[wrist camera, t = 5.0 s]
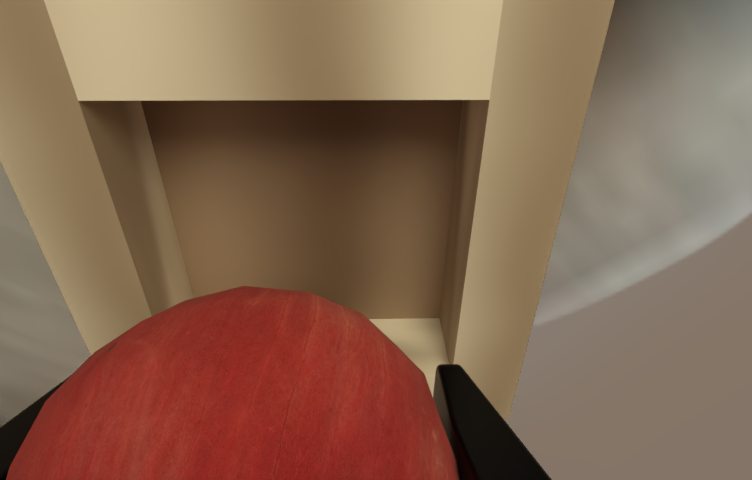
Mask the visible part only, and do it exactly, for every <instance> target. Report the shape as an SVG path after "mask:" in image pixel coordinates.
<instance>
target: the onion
mask: <svg viewBox="0 0 752 480" xmlns="http://www.w3.org/2000/svg"><path fill="white" fill-rule="evenodd" d="M6 480H459V473H458V466H457V460H456V458H455V455H454V453H453V450H452V448H451V445H450V443H449V440H448V437H447V435H446V432H445V430H444V427H443V425H442V422H441V419H440V416H439V414H438V411H437V408H436V405H435V402H434V399H433V397H432V394H431V391H430V388H429V385H428V383H427V380H426V377H425V374H424V373H423V372H422V371H421V370H420V369H419V368H418V367H417V366H416V365H415V364H414V363H413V362H412V361H411V360H410V359H409V358H408V357H407V356H406V355H405V353H404V352H403V351H402V350H401V349H400V348H399V347H398V346H397V345H396V344H394V343H393V342H392V341H391V340H390V339H389V338H388V337H387V336H386V335H385V334H384V333H383V332H382V331H381V330H380V329H379V328H377V327H376V326H375V325H374V324H373V323H372V322H371V321H370V320H369V319H368V318H367V317H366V316H365V315H364V314H362V313H359V312H357V311H355V310H352V309H350V308H347V307H345V306H342V305H340V304H337V303H335V302H333V301H330V300H328V299H325V298H323V297H320V296H318V295H315V294H313V293H310V292H305V291H295V290H284V289H273V288H262V287H251V286H241V287H237V288H233V289H229V290H225V291H221V292H217V293H213V294H209V295H205V296H201V297H197V298H193V299H189V300H185V301H183V302H181V303H178V304H176V305H174V306H172V307H170V308H168V309H166V310H164V311H162V312H160V313H157V314H155V315H153V316H151V317H149V318H147V319H145V320H143V321H141V322H139V323H138V324H136V325H135V326H133V327H132V328H130V329H129V330H127V331H126V332H124V333H123V334H121V335H120V336H118V337H117V338H115V339H114V340H112V341H111V342H109V343H108V344H106V345H105V346H103V347H102V348H100V349H99V350H97V351H96V352H94V353H93V354H92V355H91V356H90V357H89V358H88V359H87V360H86V361H85V362H84V363H83V364H82V365H81V366H80V367H79V368H78V369H77V370H76V371H75V372H74V373H73V374H72V375H71V376H70V377H69V378H68V379H67V380H66V381H65V382H64V383H63V384H62V385H61V386H60V387H59V388H58V389H57V390H56V391H55V392H54V393H53V394H52V395H51V396H50V397H49V398H48V399H47V400H46V401H45V403H44V405H43V407H42V409H41V410H40V412H39V414H38V416H37V418H36V420H35V421H34V423H33V425H32V427H31V429H30V431H29V432H28V434H27V436H26V438H25V440H24V441H23V443H22V445H21V447H20V449H19V451H18V452H17V454H16V456H15V458H14V460H13V462H12V463H11V465H10V467H9V470H8V474H7V477H6Z"/></svg>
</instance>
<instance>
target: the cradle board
mask: <svg viewBox="0 0 752 480" xmlns="http://www.w3.org/2000/svg"><path fill="white" fill-rule="evenodd" d="M614 2H615V0H0V161H1V163H2V165H3V167H4V170H5V172H6V174H7V176H8V178H9V180H10V183H11V185H12V187H13V189H14V191H15V193H16V195H17V198H18V200H19V202H20V204H21V206H22V208H23V210H24V213H25V215H26V217H27V219H28V221H29V223H30V226H31V228H32V230H33V232H34V234H35V236H36V238H37V241H38V243H39V245H40V247H41V249H42V251H43V254H44V256H45V258H46V260H47V262H48V264H49V266H50V269H51V271H52V273H53V275H54V277H55V279H56V281H57V284H58V286H59V288H60V290H61V292H62V294H63V297H64V299H65V301H66V303H67V305H68V307H69V309H70V312H71V314H72V316H73V318H74V320H75V322H76V324H77V327H78V329H79V331H80V333H81V335H82V337H83V340H84V342H85V344H86V346H87V348H88V350H89V352H90V355H92V354H93V353H94V352H96V351H97V350H99V349H100V348H102V347H103V346H105V345H106V344H108V343H109V342H111V341H112V340H114V339H115V338H117V337H118V336H120V335H121V334H123V333H124V332H126V331H127V330H129V329H130V328H132V327H133V326H135V325H136V324H138V323H139V322H141V321H143V320H145V319H147V318H149V317H151V316H153V315H155V314H157V313H160V312H162V311H164V310H166V309H168V308H170V307H172V306H174V305H176V304H178V303H181V302H183V301H185V300H189V299H193V298H197V297H201V296H205V295H209V294H213V293H217V292H221V291H225V290H229V289H233V288H237V287H241V286H251V287H262V288H273V289H284V290H295V291H305V292H310V293H313V294H315V295H318V296H320V297H323V298H325V299H328V300H330V301H333V302H335V303H337V304H340V305H342V306H345V307H347V308H350V309H352V310H355V311H357V312H359V313H362V314H364V315H365V316H366V317H367V318H368V319H369V320H370V321H371V322H372V323H373V324H374V325H375V326H376V327H377V328H379V329H380V330H381V331H382V332H383V333H384V334H385V335H386V336H387V337H388V338H389V339H390V340H391V341H392V342H393V343H394V344H396V345H397V346H398V347H399V348H400V349H401V350H402V351H403V352H404V353H405V355H406V356H407V357H408V358H409V359H410V360H411V361H412V362H413V363H414V364H415V365H416V366H417V367H418V368H419V369H420V370H421V371H422V372H423V373H424V374H425V377H426V380H427V383H428V385H429V388H430V391H431V394H432V397H433V392H434V383H435V373H436V368H437V366H438V365H440V364H458V365H460V366H461V367H462V368H463V369H464V370H465V371H466V373H467V374H468V375H469V376H470V378H471V379H472V380H473V381H474V383H475V384H476V385H477V387H478V388H479V389H480V390H481V392H482V393H483V394H484V395H485V397H486V398H487V399H488V400H489V402H490V403H491V404H492V405H493V407H494V408H495V409H496V410H497V412H498V413H499V414H500V415H501V417H502V418H503V419H509V416H510V412H511V408H512V404H513V400H514V396H515V392H516V389H517V384H518V381H519V376H520V373H521V369H522V365H523V361H524V357H525V353H526V349H527V345H528V341H529V337H530V333H531V329H532V325H533V321H534V317H535V314H536V310H537V306H538V302H539V298H540V294H541V290H542V286H543V282H544V278H545V274H546V270H547V266H548V262H549V258H550V254H551V250H552V246H553V242H554V239H555V235H556V231H557V227H558V223H559V219H560V215H561V211H562V207H563V203H564V199H565V195H566V191H567V187H568V183H569V179H570V175H571V171H572V167H573V163H574V160H575V156H576V152H577V148H578V144H579V140H580V136H581V132H582V128H583V124H584V120H585V116H586V112H587V108H588V104H589V100H590V96H591V92H592V88H593V85H594V81H595V77H596V73H597V69H598V65H599V61H600V57H601V53H602V49H603V45H604V41H605V37H606V33H607V29H608V25H609V21H610V17H611V13H612V10H613V6H614Z"/></svg>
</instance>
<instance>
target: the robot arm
mask: <svg viewBox="0 0 752 480" xmlns="http://www.w3.org/2000/svg"><path fill="white" fill-rule="evenodd" d="M68 378H69V377H68ZM68 378H67V379H68ZM67 379H66V380H67ZM66 380H64V381H63V382H61V383H60V384H59V385H57V386H56V387H55V388H53V389H52V390H51V391H49V392H48V393H47V394H45V395H44V396H42V397H41V398H40V399H38V400H37V401H36V402H34V403H33V404H32V405H30V406H29V407H28V408H26V409H25V410H24V411H22V412H21V413H19V414H18V415H17V416H15V417H14V418H13V419H11V420H10V421H9V422H7V423H6V424H5V425H3V426H2V427H0V480H6V477H7V474H8V470H9V467H10V465H11V463H12V462H13V460H14V458H15V456H16V454H17V452H18V451H19V449H20V447H21V445H22V443H23V441H24V440H25V438H26V436H27V434H28V432H29V431H30V429H31V427H32V425H33V423H34V421H35V420H36V418H37V416H38V414H39V412H40V410H41V409H42V407H43V405H44V403H45V401H46V400H47V399H48V398H49V397H50V396H51V395H52V394H53V393H54V392H55V391H56V390H57V389H58V388H59V387H60V386H61V385H62V384H63V383H64V382H65V381H66ZM433 399H434V402H435V405H436V408H437V411H438V414H439V416H440V419H441V422H442V425H443V427H444V430H445V432H446V435H447V437H448V440H449V443H450V445H451V448H452V450H453V453H454V455H455V458H456V460H457V466H458V473H459V480H551V478H550V477H549V476H548V475H547V473H546V472H545V471H544V470H543V468H542V467H541V466H540V465H539V463H538V462H537V461H536V459H535V458H534V457H533V456H532V454H531V453H530V452H529V451H528V450H527V448H526V447H525V446H524V444H523V443H522V442H521V441H520V439H519V438H518V437H517V436H516V434H515V433H514V432H513V431H512V429H511V428H510V427H509V425H508V424H507V423H506V422H505V421H504V419H503V418H502V417H501V415H500V414H499V413H498V412H497V410H496V409H495V408H494V407H493V405H492V404H491V403H490V402H489V400H488V399H487V398H486V397H485V395H484V394H483V393H482V392H481V390H480V389H479V388H478V387H477V385H476V384H475V383H474V381H473V380H472V379H471V378H470V376H469V375H468V374H467V373H466V371H465V370H464V369H463V368H462V367H461V366H460V365H458V364H440V365H438V366H437V368H436V373H435V383H434V392H433Z"/></svg>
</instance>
